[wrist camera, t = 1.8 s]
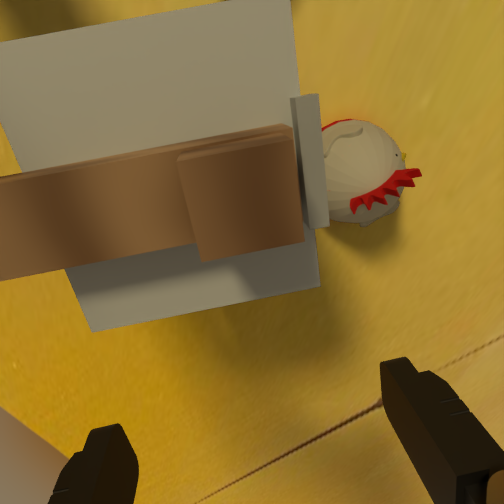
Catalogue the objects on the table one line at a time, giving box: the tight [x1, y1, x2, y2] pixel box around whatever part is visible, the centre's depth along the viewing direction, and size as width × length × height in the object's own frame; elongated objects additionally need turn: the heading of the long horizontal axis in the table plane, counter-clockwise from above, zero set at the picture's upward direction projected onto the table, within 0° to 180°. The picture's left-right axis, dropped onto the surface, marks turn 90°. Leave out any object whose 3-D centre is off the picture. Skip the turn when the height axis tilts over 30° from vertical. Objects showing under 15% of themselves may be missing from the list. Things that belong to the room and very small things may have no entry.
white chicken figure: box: [321, 119, 422, 227], centre depth 45 cm, size 14×14×15 cm
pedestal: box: [0, 0, 330, 332], centre depth 32 cm, size 14×15×34 cm
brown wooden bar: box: [0, 123, 305, 281], centre depth 15 cm, size 21×4×5 cm, turn 100°
